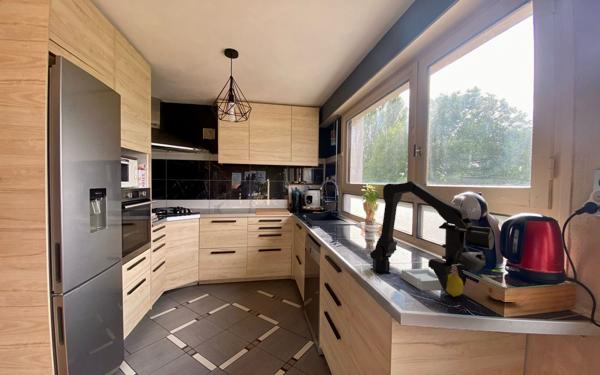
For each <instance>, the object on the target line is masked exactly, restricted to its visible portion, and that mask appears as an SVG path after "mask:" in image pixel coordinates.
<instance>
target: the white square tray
mask: <svg viewBox="0 0 600 375" xmlns="http://www.w3.org/2000/svg"><path fill="white" fill-rule="evenodd" d="M401 279H403V281H406V282H408V283H409V284H411V285H412V286H413V287H415V288H416V289H418V290H420V291H434V290H436V291H437V290H444V289H443V288H442V286H441V284H440V282H439V280H438V278H437V276H436V274H435V272H434V270H432V269H431V270H430V269H429V268H411V269H410V268H409V269H401Z"/></svg>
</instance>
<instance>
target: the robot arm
mask: <svg viewBox="0 0 600 375" xmlns="http://www.w3.org/2000/svg"><path fill="white" fill-rule="evenodd" d="M406 193H411V194H413V195H414V196H416V197H417V198H419V199H420V200H422V201H423V202H424V203H426V204H427V205H429V206H430V207H431V208H432V209H434V210H435V211H436V212H437V213H438V215H439V216H440V217H441V218H442V219H443V220H444V221H445V222H443V224H441V225H439V226H438V229H440V230H441V229H442V230H445V237H444V238H445V240H444V242H445V243H444V244H443V243H442V248H444V255H441V258H439V257H437V258H431V259H430V258H429V259H428V265H427V267H428V268H430V269H431V271H433V272H435V274H436V276H437V278H438V280H439V282H440V284H441V286H442V288H443V289H442V290H445V291H447V290H446V288H447V282H448V276H449V275H452V274H453V272H452V270H453V267H455V266H456V270H457V271H456V272H457V276H458V277H460V278H461V280H462V282H463V286H464V287H465V285H466V283H467V281H466V278H467V276H466V275H465V274H464V273H463V271H462V270H465V271H471V273H473V272H474V273H475V272H476V271H479V272H480V271H481V270H482V268H483V267H484V266H486V265H487V263H486V261H487V260H486V255H484V254H482V253H477V254H474V253H470V252H469V248H468V247H467V246H466V245H465V244H468V246H470V247H475V248H481V249H485V250H492V249H493V248H494V243H495V237H494V233H493V228H492V227H487V226H485V227H482V226H476V225H475V224H474V223H473V221H472V220H471V219H470V218H469V216H468V211H467V210H466V209H465V208H464V207H461V206H459V205H456V204H454V203H451V202H449V201H446V200H444V199H442V198H441V197H440V196H438V195H436V194H434V193H433V192H432V191H430V190H428V189H427V188H426V187H424V186H423V185H421V184H419V182H417V181H410V180H409V181H407V182H402V183H386V184H385V185H384V186H383V189H382V198H383V201H384V204H385V205H384V211H383V218H382V226H381V234H380V236H379V238H378V239H377V241H376V244H375V248H374V249H373V250H372V251H371V252H369V255H370V259H372V267H370V270H371V271H372V272H374V273H375V274H377V275H389V274H391V273H392V272H390V268H391V267H390V266H391V265H390V258H391V257H392V255H394V254H395V252H396V251H397V244H398V241H396V240H395V239H394V230H395V222H396V215H397V208H398V204H399V202H400V201H401V200H402V198H403V194H406ZM465 282H466V283H465Z"/></svg>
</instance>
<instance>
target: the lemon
mask: <svg viewBox="0 0 600 375" xmlns="http://www.w3.org/2000/svg"><path fill="white" fill-rule="evenodd" d="M464 287H465V286H463V282H462V280H461V278H460V277H459V276H458V274H457V275H456V273H452V274H450V275H448V282H447V288H446V290H445V291H446V292H447V293H448V294H450V295H451V296H452V297H454V298H455V297H458V296H460V295H462V294H463V292H464Z"/></svg>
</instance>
